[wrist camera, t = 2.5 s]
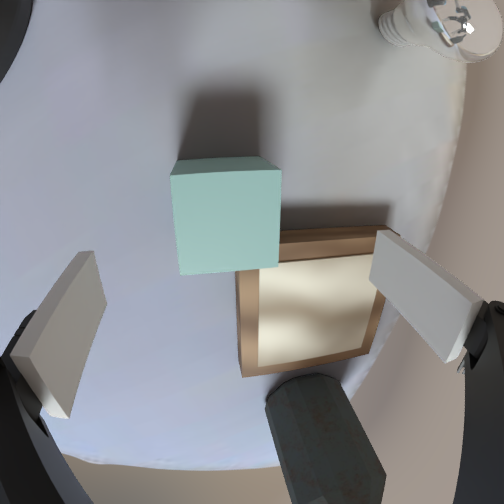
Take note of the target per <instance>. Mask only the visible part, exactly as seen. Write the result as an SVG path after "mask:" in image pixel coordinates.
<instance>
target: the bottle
mask: <svg viewBox="0 0 504 504" xmlns="http://www.w3.org/2000/svg"><path fill="white" fill-rule="evenodd" d="M265 412H266V416H267V419H268V423H269V426H270V430H271V433H272V437H273V441H274V444H275V448H276V451H277V455H278V458H279V461H280V465H281V468H282V472H283V475H284V478H285V482H286V485H287V488H288V492H289V495H290V498H291V502H292V504H381V501H382V497H383V492H384V486H385V481H386V473H385V471H384V469H383V467H382V465H381V463H380V461H379V459H378V457H377V455H376V453H375V451H374V449H373V447H372V445H371V443H370V441H369V439H368V437H367V435H366V433H365V431H364V430H363V427H362V425H361V423H360V421H359V420H358V417H357V416H356V414H355V412H354V410H353V408H352V406H351V404H350V402H349V400H348V398H347V396H346V394H345V392H344V390H343V388H342V386H341V384H340V383H339V381H338V380H336V379H334V378H331V377H328V376H325V375H322V374H319V373H317V374H312V375H307V376H302V377H297V378H294V379H292V380H289V381H287V382H285V383H284V384H283V385H281V386H280V387H279V388H278V389H277V390H276V391H275V392H274V393H273V394H271V395H270V396H269V399H268V401H267V404H266V407H265Z"/></svg>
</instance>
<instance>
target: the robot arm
mask: <svg viewBox="0 0 504 504" xmlns="http://www.w3.org/2000/svg"><path fill="white" fill-rule="evenodd" d="M31 4H32V0H0V82H1V81H2V79H3V78H4V76H5V74H6V73H7V71H8V69H9V67H10V65H11V64H12V62H13V60H14V58H15V56H16V54H17V51H18V49H19V47H20V45H21V42H22V40H23V37H24V34H25V31H26V28H27V25H28V21H29V17H30V12H31ZM369 281H370V282H371V283H372V284H373V285H374V286H375V287H376V288H377V289H378V290H379V291H380V292H381V293H382V294H383V295H384V296H385V297H386V298H387V299H388V301H389V302H390V303H391V304H392V305H393V306H394V307H395V308H396V309H397V310H398V311H399V312H400V313H401V315H402V316H403V317H404V318H405V319H406V320H407V321H408V322H409V323H410V324H411V325H412V326H413V328H414V329H415V330H416V331H417V332H418V333H419V334H420V336H421V337H422V338H423V339H424V340H425V341H426V342H427V343H428V345H429V346H430V347H431V348H432V349H433V350H434V351H435V353H436V354H437V355H438V356H439V357H440V358H441V360H442V361H443V362H444V363H447V362H449V361H452V360H454V359H456V358H457V357H458V355H459V354H460V351H461V349H462V348H463V346H464V347H465V348H466V349H467V353H466V355H465V356H464V358H463V360H462V362H461V364H460V366H459V367H458V369H457V373H459V372H460V370H461V368H462V367H465V369H464V371H463V372H462V374H465V418H464V433H463V434H464V435H463V445H462V454H461V462H460V469H459V476H458V481H457V486H456V492H455V497H454V501H453V504H504V303H502V302H499V301H491V302H490V303H489V304H488V303H487V302H486V301H484V299H483V298H482V297H480V296H479V295H478V294H477V293H475V292H474V291H473V290H472V289H470V288H469V287H468V286H467V285H465V284H464V283H463V282H462V281H460V280H459V279H458V278H456V277H455V276H454V275H452V274H451V273H450V272H448V271H447V270H446V269H445V268H443V267H442V266H440V265H439V264H438V263H436V262H435V261H434V260H432V259H431V258H430V257H428V256H427V255H425V254H424V253H423V252H421V251H420V250H418V249H417V248H416V247H414V246H413V245H411V244H410V243H408V242H407V241H405V240H404V239H402V238H401V237H400V236H398V235H397V234H395V233H394V232H392V231H391V230H377V236H376V242H375V248H374V254H373V259H372V265H371V270H370V275H369ZM106 306H107V301H106V298H105V294H104V291H103V287H102V283H101V280H100V276H99V272H98V268H97V264H96V259H95V255H94V251H83V252H78V253H77V255H76V256H75V257H74V259H73V260H72V261H71V262H70V264H69V265H68V266H67V268H66V269H65V270H64V272H63V273H62V274H61V276H60V277H59V279H58V280H57V281H56V283H55V284H54V286H53V287H52V288H51V290H50V291H49V293H48V294H47V296H46V297H45V299H44V300H43V302H42V303H41V305H40V306H39V308H38V309H37V310H33V311H32V312H31V313H30V314H29V315H28V316H26V317H25V318H24V320H23V321H22V323H21V325H20V326H19V329H17V331H16V332H15V334H14V335H15V336H13V337H12V339H11V341H10V342H9V344H8V346H7V347H6V349H5V351H4V353H3V354H2V356H1V357H0V504H94V503H93V502H92V501H91V499H90V498H89V496H88V495H87V494H86V492H85V491H84V489H83V488H82V486H81V485H80V483H79V482H78V480H77V479H76V477H75V476H74V474H73V473H72V471H71V469H70V468H69V466H68V464H67V463H66V461H65V459H64V457H63V456H62V454H61V452H60V450H59V449H58V447H57V445H56V443H55V441H54V439H53V437H52V435H51V433H50V431H49V429H48V427H47V425H46V423H45V421H44V419H43V418H42V417H41V416H40V411H41V408H42V406H43V407H44V408H45V410H46V411H47V412H48V414H49V415H50V416H52V417H58V418H65V419H69V418H70V414H71V410H72V406H73V403H74V399H75V396H76V392H77V389H78V385H79V382H80V379H81V376H82V372H83V369H84V366H85V363H86V360H87V357H88V354H89V351H90V348H91V346H92V343H93V340H94V337H95V334H96V332H97V329H98V326H99V324H100V321H101V318H102V316H103V313H104V311H105V308H106Z"/></svg>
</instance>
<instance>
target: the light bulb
mask: <svg viewBox="0 0 504 504" xmlns="http://www.w3.org/2000/svg"><path fill="white" fill-rule="evenodd" d="M378 26H379V29H380V32H381V34H382V35H383V37H384V38H385V39H386V40H387V41H388V42H390V43H391V44H393V45H395V46H399V47H404V46H409V45H416V46H424V47H428V48H430V49H431V50H433V51H435V52H436V53H438V54H440V55H442V56H443V57H446V58H448V59H451V60H454V61H458V62H467V63H473V62H478V61H483V60H485V59H487V58H489V57H490V56H491V55H493V54H494V53H495V52H496V51H497V49H498V48H499V46H500V44H501V42H502V38H503V31H504V28H503V21H502V16H501V13H500V11H499V9H498V7H497V5H496V3H495V2H494V0H404V1H403V2H402V3H400V4H399V5H398V6H397V7H396V8H395V9H394V10H391V11H388V12H386V13H383V14H382V15H381V16H380V18H379V21H378Z"/></svg>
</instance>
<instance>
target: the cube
mask: <svg viewBox="0 0 504 504" xmlns="http://www.w3.org/2000/svg"><path fill="white" fill-rule="evenodd" d="M281 174H282V170H281V169H279V168H278V167H276V166H274V165H273V164H271V163H270V162H268V161H266V160H265V159H263V158H261V157H260V156H252V157H224V158H205V159H190V160H178V161H177V162H176V164H175V166H174V168H173V170H172V172H171V174H170V184H171V196H172V207H173V218H174V228H175V237H176V246H177V254H178V262H179V270H180V276H182V275H194V274H206V273H218V272H230V271H241V270H252V269H263V268H274V267H278V262H279V238H280V209H281Z"/></svg>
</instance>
